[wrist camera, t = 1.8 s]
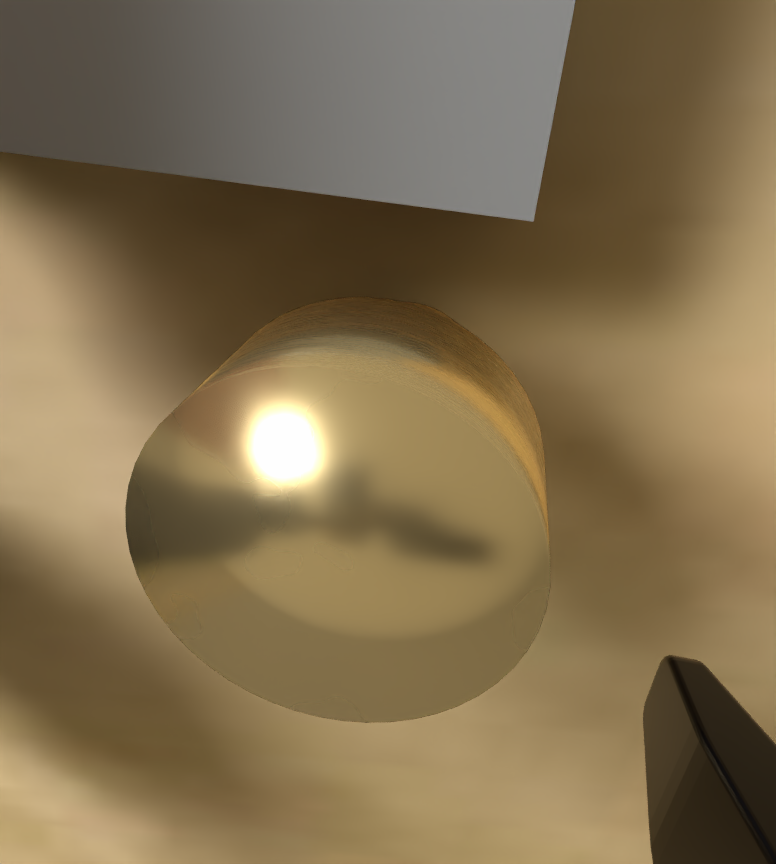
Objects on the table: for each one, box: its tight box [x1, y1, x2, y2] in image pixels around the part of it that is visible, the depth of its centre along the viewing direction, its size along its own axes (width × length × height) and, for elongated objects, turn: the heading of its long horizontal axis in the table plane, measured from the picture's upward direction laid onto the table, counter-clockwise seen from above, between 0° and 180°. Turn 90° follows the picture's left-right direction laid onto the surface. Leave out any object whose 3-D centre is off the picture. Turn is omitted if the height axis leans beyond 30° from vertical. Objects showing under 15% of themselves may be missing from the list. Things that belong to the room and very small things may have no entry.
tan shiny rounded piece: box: [126, 297, 550, 723], centre depth 13 cm, size 6×6×7 cm
